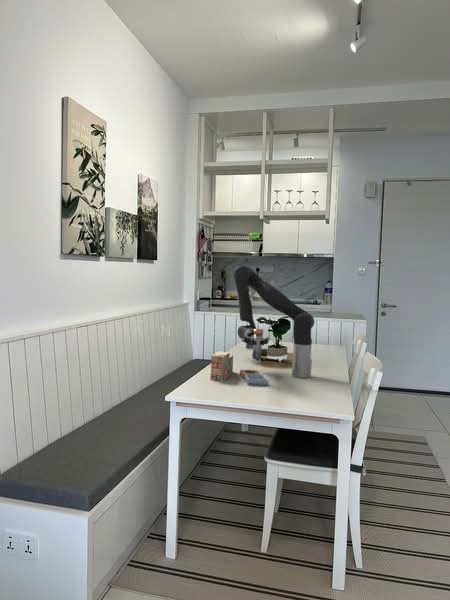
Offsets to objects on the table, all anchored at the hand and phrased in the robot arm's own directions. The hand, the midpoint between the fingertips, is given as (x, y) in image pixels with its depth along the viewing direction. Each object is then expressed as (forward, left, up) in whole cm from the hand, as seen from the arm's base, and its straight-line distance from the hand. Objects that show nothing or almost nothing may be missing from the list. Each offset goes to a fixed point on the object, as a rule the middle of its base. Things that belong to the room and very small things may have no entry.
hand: (258, 342), depth 226 cm
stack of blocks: (+15, -16, -20) cm, 30 cm away
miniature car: (-19, -59, -21) cm, 65 cm away
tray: (0, -3, -20) cm, 20 cm away
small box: (-16, -96, -20) cm, 100 cm away
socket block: (+1, -13, -20) cm, 24 cm away
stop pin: (0, -3, -8) cm, 8 cm away
